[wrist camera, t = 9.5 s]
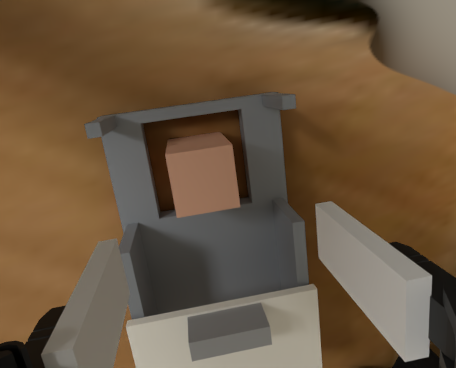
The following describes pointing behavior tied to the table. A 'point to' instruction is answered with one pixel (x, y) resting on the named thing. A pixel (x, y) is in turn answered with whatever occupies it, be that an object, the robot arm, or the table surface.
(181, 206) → the block
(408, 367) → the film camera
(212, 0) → the table surface
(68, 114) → the table surface
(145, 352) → the cover
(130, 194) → the sliding door cubby
